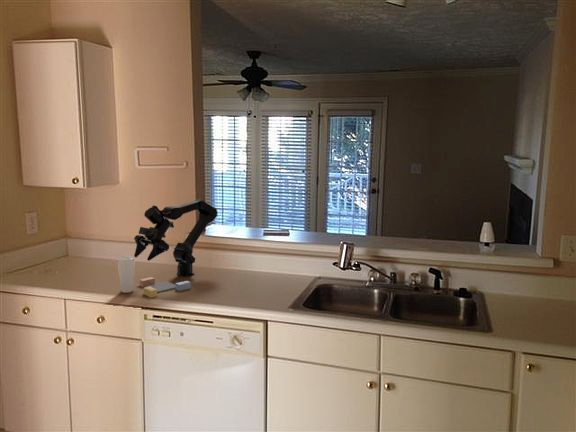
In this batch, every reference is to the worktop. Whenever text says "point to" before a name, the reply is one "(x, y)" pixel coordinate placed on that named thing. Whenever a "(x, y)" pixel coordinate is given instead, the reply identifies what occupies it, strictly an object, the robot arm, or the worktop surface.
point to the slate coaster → (162, 286)
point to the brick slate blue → (183, 285)
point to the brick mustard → (150, 291)
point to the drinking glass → (126, 273)
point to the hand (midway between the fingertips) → (141, 258)
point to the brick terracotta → (147, 281)
